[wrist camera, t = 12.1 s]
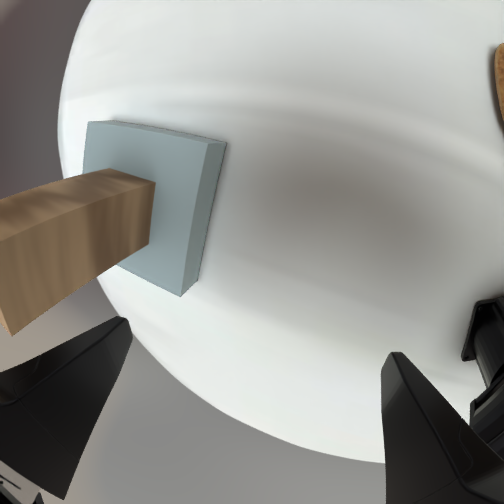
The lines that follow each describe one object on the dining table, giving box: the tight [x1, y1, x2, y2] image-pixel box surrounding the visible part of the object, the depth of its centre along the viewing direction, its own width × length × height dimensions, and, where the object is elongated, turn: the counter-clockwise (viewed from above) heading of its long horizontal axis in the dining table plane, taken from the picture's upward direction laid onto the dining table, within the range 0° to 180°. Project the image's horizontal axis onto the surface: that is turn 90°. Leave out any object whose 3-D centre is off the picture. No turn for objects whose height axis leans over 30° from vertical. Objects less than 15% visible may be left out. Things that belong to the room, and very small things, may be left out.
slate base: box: [83, 121, 226, 297], centre depth 21 cm, size 12×12×3 cm
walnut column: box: [0, 168, 156, 336], centre depth 14 cm, size 5×5×13 cm
